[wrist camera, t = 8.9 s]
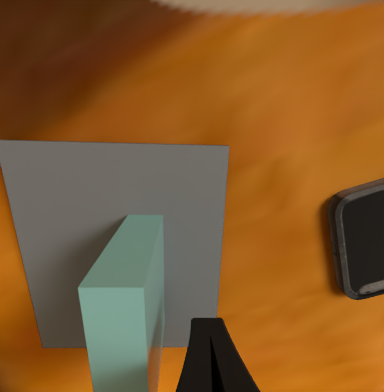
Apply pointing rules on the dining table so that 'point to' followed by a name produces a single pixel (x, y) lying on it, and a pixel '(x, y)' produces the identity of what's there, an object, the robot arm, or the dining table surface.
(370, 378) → the dining table surface
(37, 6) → the dining table surface
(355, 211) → the phone
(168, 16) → the dining table surface
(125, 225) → the block
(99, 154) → the mat
